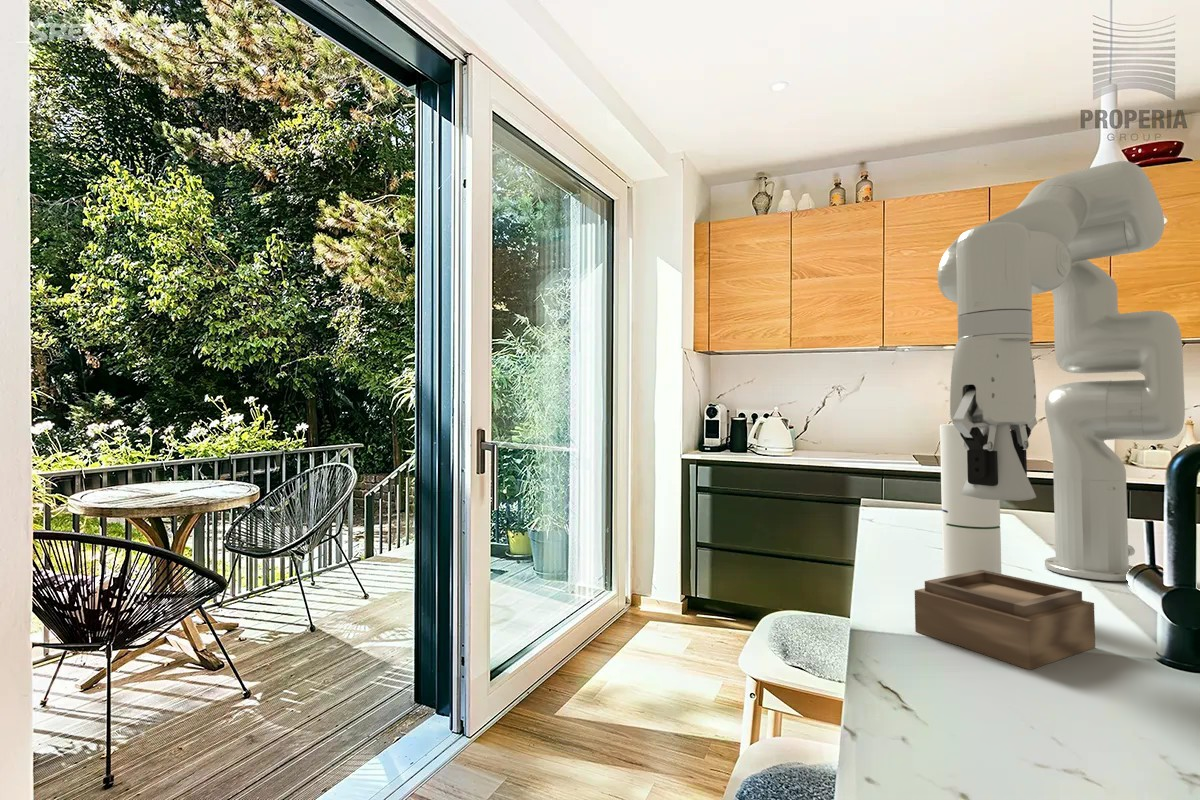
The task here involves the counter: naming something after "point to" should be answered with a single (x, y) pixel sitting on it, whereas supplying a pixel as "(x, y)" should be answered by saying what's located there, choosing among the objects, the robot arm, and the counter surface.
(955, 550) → the cylindrical container
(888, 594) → the counter surface
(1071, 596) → the tray
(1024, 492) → the flask
